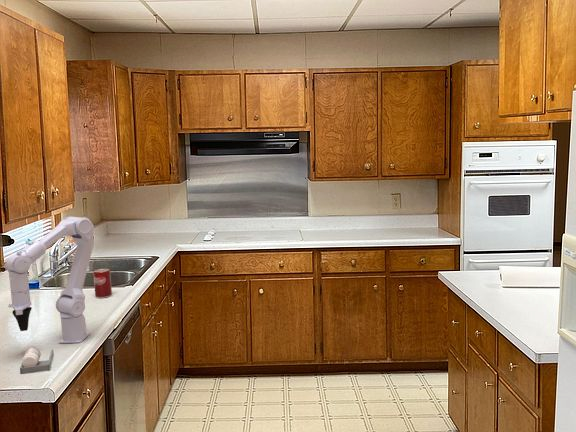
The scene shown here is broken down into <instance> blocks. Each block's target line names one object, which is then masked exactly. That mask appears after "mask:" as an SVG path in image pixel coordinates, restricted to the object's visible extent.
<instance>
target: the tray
mask: <svg viewBox="0 0 576 432" xmlns="http://www.w3.org/2000/svg"><path fill="white" fill-rule="evenodd" d="M54 355H55V354H54V349H51V350H50V355H49V358H48V359H47V360H40V361H38V364H37V365H36V366H31V367H24V366H23V360H22V362H21V363H20V364H21V365H20V367H19V373H20V375H22V374H24V375H25V374H30V373H31V374H32V373H39V372H45V371H46V372H47V371H51V367H52V363H53V358H54Z"/></svg>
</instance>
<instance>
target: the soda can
mask: <svg viewBox="0 0 576 432" xmlns="http://www.w3.org/2000/svg"><path fill="white" fill-rule="evenodd" d="M92 273H93V285H94V295H95V298H97V299H107V298H110V297H112V296H113V292H112V291H113V289H112V278H111V270H110V269H109V268H98V269H95V270H93V272H92Z"/></svg>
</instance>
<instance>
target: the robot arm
mask: <svg viewBox="0 0 576 432" xmlns="http://www.w3.org/2000/svg"><path fill="white" fill-rule="evenodd" d="M94 228H95V226H94V224H93V223H92V221H91V220H90V219H89V218H88V217H79V216H72V215H70V216H67V217H65V218H64V219H62V220H60V222H59V223H58V224H57V225H56V226H55V227H54V228H53V229H52V230H51V231H49V232H48V233H46V234H45V235H44V236H43V237H42V238H41V239H40V240H37V239H35V240H30V241H28V242H27V245H26V246H25V247H24V248H22V249H20V250H17V251H16V254H12V255H9V256H8V257H7V258H6V260H5V263H4V265H3V266H4V268H5V270H6V271H7V272H8V276H9V277H8V278H9V286H10V287H9V289H10V296H11V303H9V304H8V306H7V307H8V308H12V309H13V310H12V312H11V313H12V316H14V319H15V320H16V322H17V325H18V327H19V331H20V332H27V331H28V330H29V321H30V320H29V318H30V314H31V311H32V307H31V305H32V301H31V293H30V285H29V284H30V283H29V275H28V274H29V273H28V271H29V270H30V269H31V265H32V264H34V263H35V262H36V261H38V260H39V259H40V258H41V257H43V256H44V255H45V254H46V252H47V248H49V247H50V246H52V245H54V244H55V243H56V242H57V241H59V240H60V239H62V238H63V237H65V236H70V237H72V239H73V240H74V241H75V243H76V248H75V252H74V256H73V259H72V263H71V268H70V272H69V274H68V275H69V276H68V278H67V279H68V281H67V284H66V287H65V288H64V289H62V291H61V292H60V295H59V296H58V298H57V300H56V302H55V308H56V310H57V312H58V313H59V316H60V324H61V326H60V327H61V335H62V338H61V339H60V340H59V341H58V344H71V343H72V344H74V343H75V344H76V343H78V344H80V343H82V342H83V341H84V340H85V339H86V338H87V337H88V336H89V335H90V333H89V332H87V325H86V324H87V323H86V317H85V315H84V314H83V313H84V312H85V309H86V303H85V301H86V295H85V293H84V291H83V288H84V284H85V280H86V276H87V273H88V268H89V264H90V261H91V257H92V252H93V248H94V244H95V238H94Z"/></svg>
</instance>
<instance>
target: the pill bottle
mask: <svg viewBox="0 0 576 432" xmlns="http://www.w3.org/2000/svg"><path fill="white" fill-rule="evenodd" d="M41 355H42V354H41V350H40V349H38V348H36V347H30V348H28V349H27V350H26V351H25V353H24V354H23V357H22V361H23V366H24V367H31V366H36V365H37V364H38V361H39V360H40V359H41Z"/></svg>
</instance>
